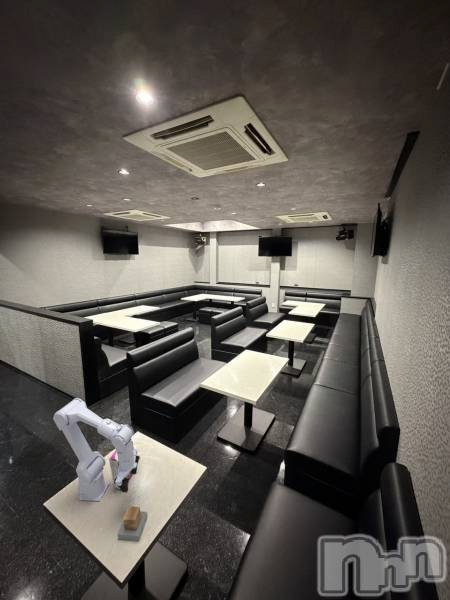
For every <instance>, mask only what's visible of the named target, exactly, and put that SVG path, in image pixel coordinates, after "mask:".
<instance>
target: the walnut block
mask: <svg viewBox="0 0 450 600" xmlns="http://www.w3.org/2000/svg"><path fill="white" fill-rule="evenodd" d="M140 511H141V506H128V507H127V509H126V511H125V514H124V516H123V519H122V522H124V528H125V530H137V527H138V524H139V522H140V519H141V512H140Z"/></svg>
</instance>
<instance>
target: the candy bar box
mask: <svg viewBox="0 0 450 600" xmlns="http://www.w3.org/2000/svg"><path fill="white" fill-rule="evenodd" d="M132 447H133V449H134V442H133V440H132ZM108 460H109V466H110V472H111V477H112V481H113V488H114V489H117V490H121V489H120V488H119V487H118V486H116V485H115V484H114V480H115V478H116V477H117V474H118V469H119V462H118V455H117V451H116V450H114V452H113V454H111V456H110V457H109V459H108ZM133 475H134V474H131V473H130V472H129V473H128V474H127V476H126V478H128V479H129V481H130V480H131V477H132V476H133Z"/></svg>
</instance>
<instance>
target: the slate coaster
mask: <svg viewBox="0 0 450 600" xmlns="http://www.w3.org/2000/svg"><path fill="white" fill-rule="evenodd" d="M140 512H141V519H140V522H139V524H138V527H137V530H125V528H124V522H123V521H122V523H121V525H120V527H119V530H118V532H117V534H116V535H117V539H118V540H121V541H122V540H123V541H136V542H139V541H140V539H141V536H142V534H143V531H144V528H145V525H146V522H147V519H148V512H147V511H142V510H140Z"/></svg>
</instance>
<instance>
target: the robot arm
mask: <svg viewBox="0 0 450 600" xmlns="http://www.w3.org/2000/svg"><path fill="white" fill-rule="evenodd" d="M52 419H53V421H54V423H55V425H56V427H57V429H58V430H59V431H62V433H63V434H64V436H65V439H66V440H67V442H68V443H69V445H70V447H71V449H72V451H73V452H74V455H75V456H76V458H77V459H78V464H77V466H76V469H75V471H76V474H77V479H78V483H77V487H78V492H79V498H78V500H79V501H90V502H91V501H92V502H99V501H101V499H102V498H103V495H104V494H105V492H106V490H107V489H108V487H109V486H110V481H105V478H104V467H105V465H106V459H105V457H104V456H103V454H101V453H100V451H96V450H95V451H93V449H92V448H91V446H90V445H89V443H88V442H87V440H86V438H85V436H84V435H83V433H82V431H81V428H80V426H79V425H78V423H77V422H83V423H84V424H86V425H89V426H91V427H94V428H95V429H96V430H97V433H98V434H99V435H101V436H103V437H104V438H106V439H108V440H109V441H111V444H112V446H113V447H114V449H115V450H114V451H117V455H118V462H119V469H118V474H117V477H116V478H115V480H114V483H113V485H114V484H115V485H116V486H118V487H119V488H120V489H119V490H121V492H122V493H125V494H126V493H128V491H129V482H130V480H129V479H128V478H126V476H127V474H128V473H129V472H130V473H131V474H133V475H136V474H137V471H138V464H139V460H140V459H141V457H140V455H138V449H137V448H136V449H133V447H134V446H133V447H132V441H133V440H132V438H133V436H134V434H135V432H134V429H133V427H132V426H130V425H129V424H121V423H120V424H119V423H118V422H115V420H112V419H110V418H104V419H103V418H102V417H100V416H99V415H98V414H97V413H95V412H93V411H92V410H91V409H89V408H87V404H86V402H85V401H83V399H81V398H78V397H75V398H73V399H72V401H70V402H68V403H67V404H66V405H65V406H63V407H61V408H60V409H59V410H57V411H56V412H55V413H54V415H53V418H52Z"/></svg>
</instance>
